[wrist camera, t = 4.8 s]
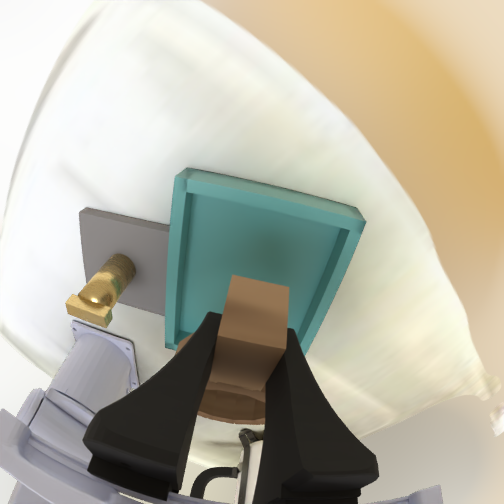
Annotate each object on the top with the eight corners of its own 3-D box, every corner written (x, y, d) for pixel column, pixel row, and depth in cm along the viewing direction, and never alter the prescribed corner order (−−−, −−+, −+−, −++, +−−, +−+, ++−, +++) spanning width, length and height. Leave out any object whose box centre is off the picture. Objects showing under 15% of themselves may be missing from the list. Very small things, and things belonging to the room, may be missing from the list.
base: (170, 309, 24) (166, 316, 23) (93, 286, 24) (88, 292, 23) (175, 227, 20) (171, 233, 19) (85, 207, 20) (78, 212, 19)
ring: (275, 392, 19) (271, 429, 17) (180, 372, 19) (170, 409, 16) (340, 297, 12) (346, 357, 10) (178, 261, 12) (153, 318, 9)
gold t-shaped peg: (140, 284, 22) (107, 335, 17) (106, 274, 22) (70, 321, 16) (139, 258, 21) (102, 308, 15) (104, 249, 20) (63, 294, 15)
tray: (293, 355, 26) (294, 375, 24) (172, 329, 25) (165, 347, 23) (356, 207, 18) (366, 221, 16) (186, 167, 18) (175, 176, 16)
